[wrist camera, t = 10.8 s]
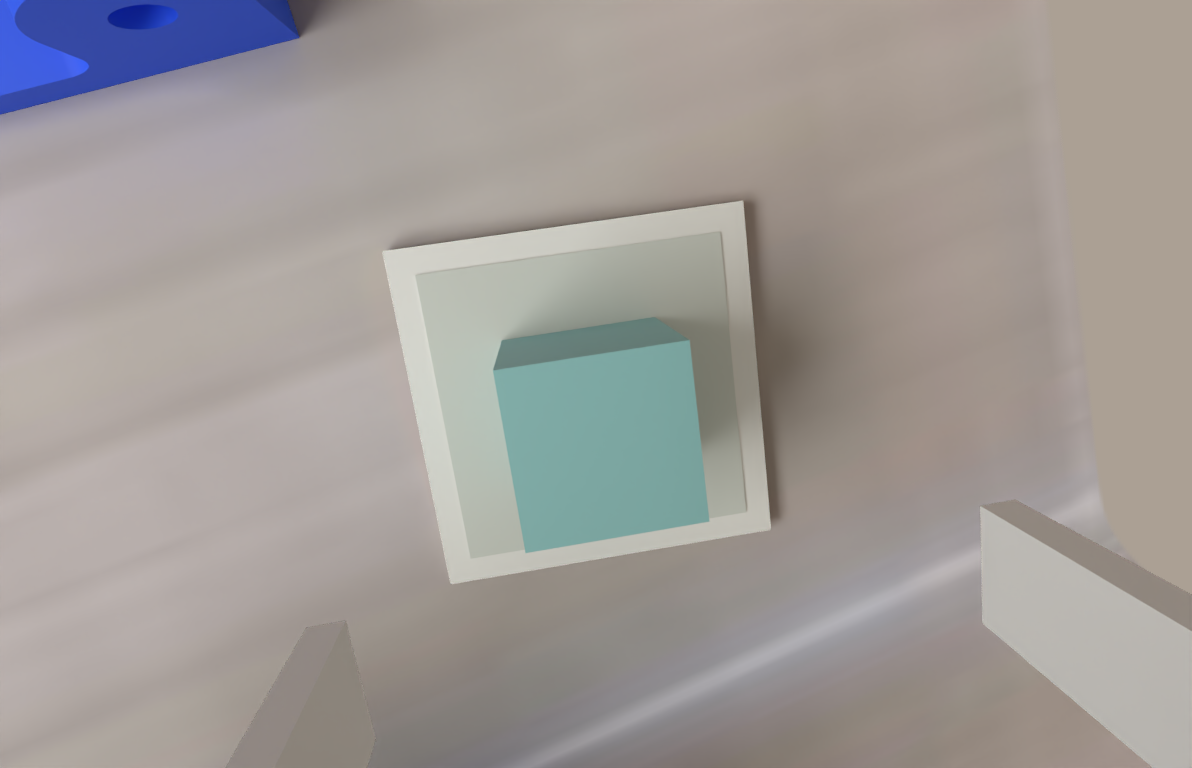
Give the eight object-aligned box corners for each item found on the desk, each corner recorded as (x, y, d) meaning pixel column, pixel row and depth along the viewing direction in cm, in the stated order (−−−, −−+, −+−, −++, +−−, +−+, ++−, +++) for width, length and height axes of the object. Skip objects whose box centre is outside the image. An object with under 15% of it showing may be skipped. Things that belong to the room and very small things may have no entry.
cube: (526, 485, 32) (525, 553, 25) (501, 340, 30) (492, 370, 23) (672, 461, 32) (709, 521, 25) (654, 316, 31) (689, 339, 24)
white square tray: (452, 576, 33) (450, 585, 33) (386, 250, 30) (381, 251, 29) (765, 523, 34) (771, 530, 34) (737, 201, 31) (743, 200, 30)
